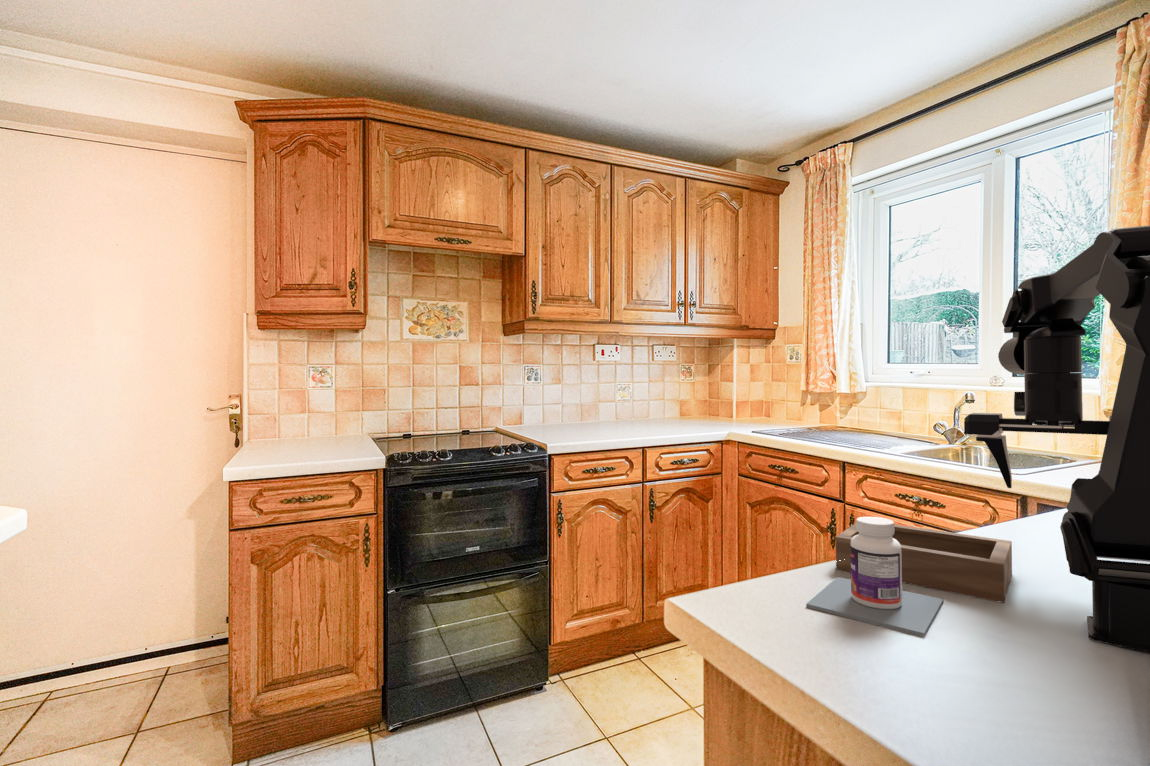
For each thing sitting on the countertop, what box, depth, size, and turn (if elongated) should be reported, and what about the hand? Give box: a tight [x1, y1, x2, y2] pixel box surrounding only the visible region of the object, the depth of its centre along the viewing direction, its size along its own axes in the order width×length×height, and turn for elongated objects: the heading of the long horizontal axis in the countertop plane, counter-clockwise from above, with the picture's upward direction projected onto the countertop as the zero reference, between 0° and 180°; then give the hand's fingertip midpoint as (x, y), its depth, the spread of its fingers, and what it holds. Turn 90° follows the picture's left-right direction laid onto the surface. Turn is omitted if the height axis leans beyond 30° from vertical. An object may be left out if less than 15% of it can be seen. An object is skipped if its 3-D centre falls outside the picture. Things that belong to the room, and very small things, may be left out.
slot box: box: [835, 522, 1013, 603], centre depth 77 cm, size 13×19×5 cm
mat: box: [805, 576, 944, 638], centre depth 66 cm, size 12×12×1 cm
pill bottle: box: [850, 516, 903, 609], centre depth 66 cm, size 5×5×10 cm
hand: (1054, 491), depth 72 cm, fingers open, 9 cm apart
